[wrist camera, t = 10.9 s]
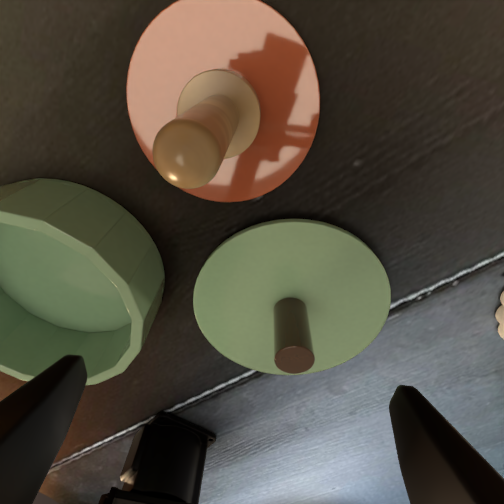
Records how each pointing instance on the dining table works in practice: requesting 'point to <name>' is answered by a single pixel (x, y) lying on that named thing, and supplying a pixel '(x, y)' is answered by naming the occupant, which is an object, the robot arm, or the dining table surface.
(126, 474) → the robot arm
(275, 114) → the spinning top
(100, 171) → the dining table surface
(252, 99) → the pestle
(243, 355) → the pot lid
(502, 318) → the mooncake
